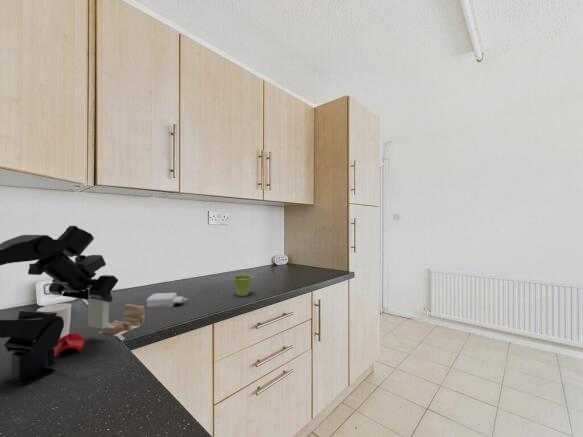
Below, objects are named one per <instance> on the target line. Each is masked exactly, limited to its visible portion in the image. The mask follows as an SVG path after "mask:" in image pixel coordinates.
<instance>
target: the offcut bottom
mask: <svg viewBox="0 0 583 437" xmlns="http://www.w3.org/2000/svg"><path fill="white" fill-rule="evenodd" d="M101 331H102V333H103V334H102V335H106V334H108V335H107V336H112V335H115V334H118V333H120V332H122V331H125V326H123V327H122V328H119V329H117V330H115V331H110V330H104V329H102V328H101Z"/></svg>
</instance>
